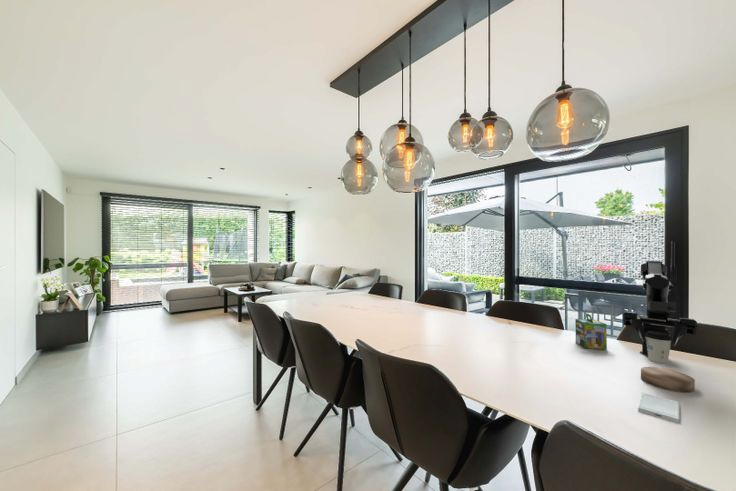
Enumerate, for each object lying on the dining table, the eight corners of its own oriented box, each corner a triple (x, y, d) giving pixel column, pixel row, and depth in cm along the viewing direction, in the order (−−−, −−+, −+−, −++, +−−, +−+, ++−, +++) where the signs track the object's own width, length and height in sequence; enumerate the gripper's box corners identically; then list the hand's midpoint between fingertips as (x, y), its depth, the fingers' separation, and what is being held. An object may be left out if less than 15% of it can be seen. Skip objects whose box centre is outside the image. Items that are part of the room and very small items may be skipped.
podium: (666, 375, 110) (666, 366, 110) (707, 392, 97) (707, 383, 97) (630, 374, 110) (630, 366, 110) (666, 392, 97) (666, 382, 97)
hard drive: (641, 392, 95) (637, 407, 86) (679, 402, 89) (679, 418, 80) (641, 397, 95) (637, 413, 86) (679, 407, 89) (679, 425, 80)
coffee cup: (672, 362, 105) (673, 333, 105) (671, 368, 100) (672, 337, 100) (645, 356, 110) (645, 328, 110) (643, 361, 105) (643, 332, 105)
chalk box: (607, 350, 136) (607, 316, 136) (584, 348, 138) (584, 315, 138) (596, 343, 145) (596, 312, 145) (574, 342, 147) (574, 311, 147)
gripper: (623, 289, 114) (622, 325, 106) (696, 295, 101) (701, 336, 93) (623, 307, 120) (622, 342, 112) (693, 314, 107) (697, 354, 99)
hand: (658, 343), depth 104 cm, fingers closed on coffee cup, 7 cm apart
